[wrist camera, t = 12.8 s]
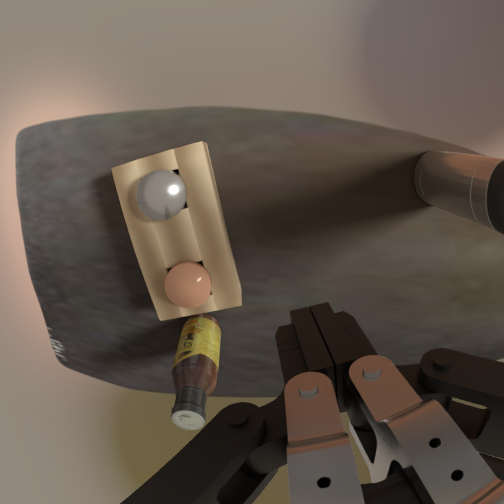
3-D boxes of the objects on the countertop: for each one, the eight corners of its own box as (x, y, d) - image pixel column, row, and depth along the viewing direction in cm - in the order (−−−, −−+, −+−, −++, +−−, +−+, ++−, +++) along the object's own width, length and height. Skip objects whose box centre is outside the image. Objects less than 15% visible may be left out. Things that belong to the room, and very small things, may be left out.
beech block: (206, 142, 40) (201, 141, 34) (241, 286, 47) (241, 305, 41) (126, 165, 40) (111, 168, 34) (168, 301, 47) (160, 320, 41)
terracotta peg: (208, 242, 44) (203, 261, 37) (218, 279, 46) (216, 303, 39) (170, 250, 44) (158, 271, 37) (181, 286, 46) (172, 312, 39)
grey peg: (188, 161, 40) (178, 164, 33) (198, 202, 42) (190, 213, 35) (148, 172, 41) (130, 178, 33) (159, 212, 43) (144, 225, 35)
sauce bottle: (192, 304, 48) (172, 393, 29) (227, 320, 49) (225, 412, 30) (177, 334, 49) (154, 423, 30) (210, 348, 51) (202, 440, 32)
